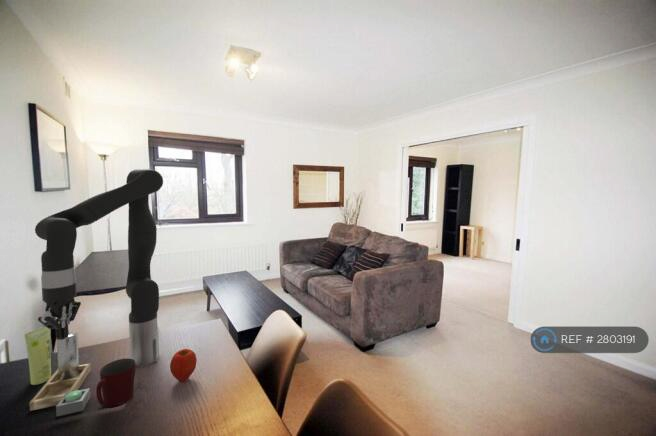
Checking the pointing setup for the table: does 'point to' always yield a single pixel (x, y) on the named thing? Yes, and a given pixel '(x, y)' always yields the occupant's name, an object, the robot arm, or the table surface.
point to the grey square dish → (72, 404)
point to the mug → (116, 382)
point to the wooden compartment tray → (58, 389)
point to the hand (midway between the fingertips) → (62, 338)
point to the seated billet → (68, 357)
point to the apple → (183, 364)
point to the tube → (39, 355)
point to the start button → (74, 396)
